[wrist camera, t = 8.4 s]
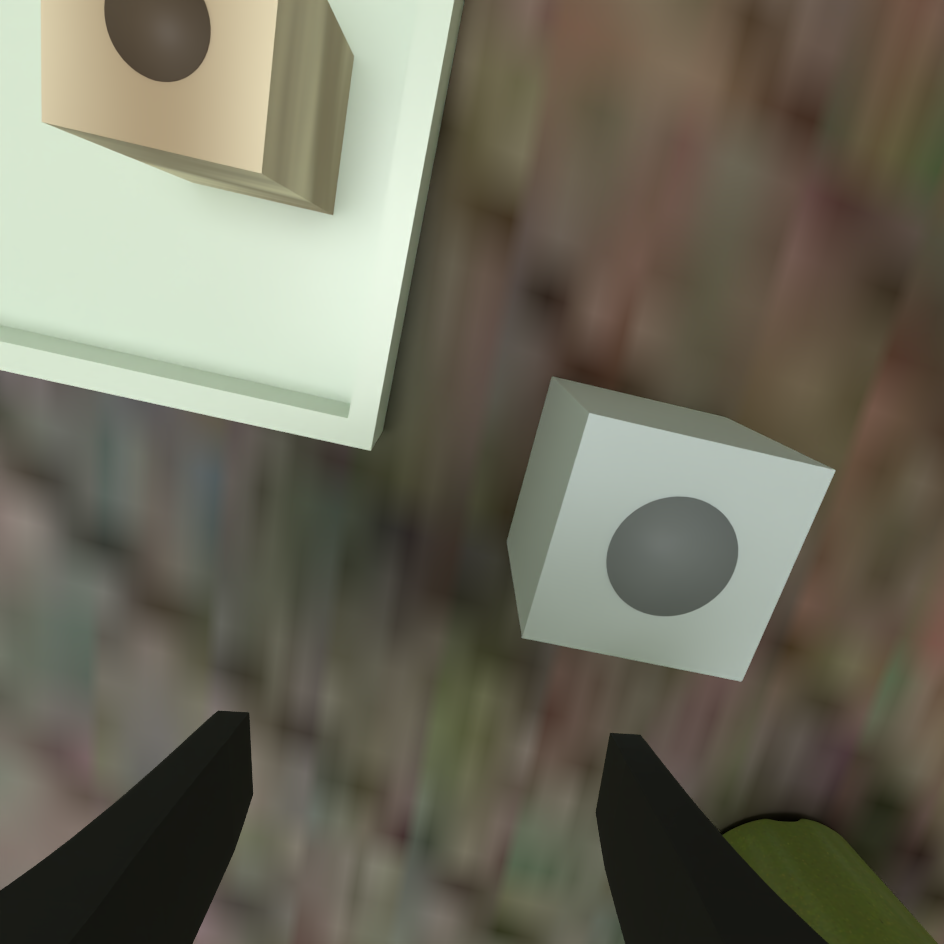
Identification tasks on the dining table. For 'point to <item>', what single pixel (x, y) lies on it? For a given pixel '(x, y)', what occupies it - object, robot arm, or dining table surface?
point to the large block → (656, 530)
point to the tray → (224, 248)
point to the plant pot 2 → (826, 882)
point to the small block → (205, 89)
